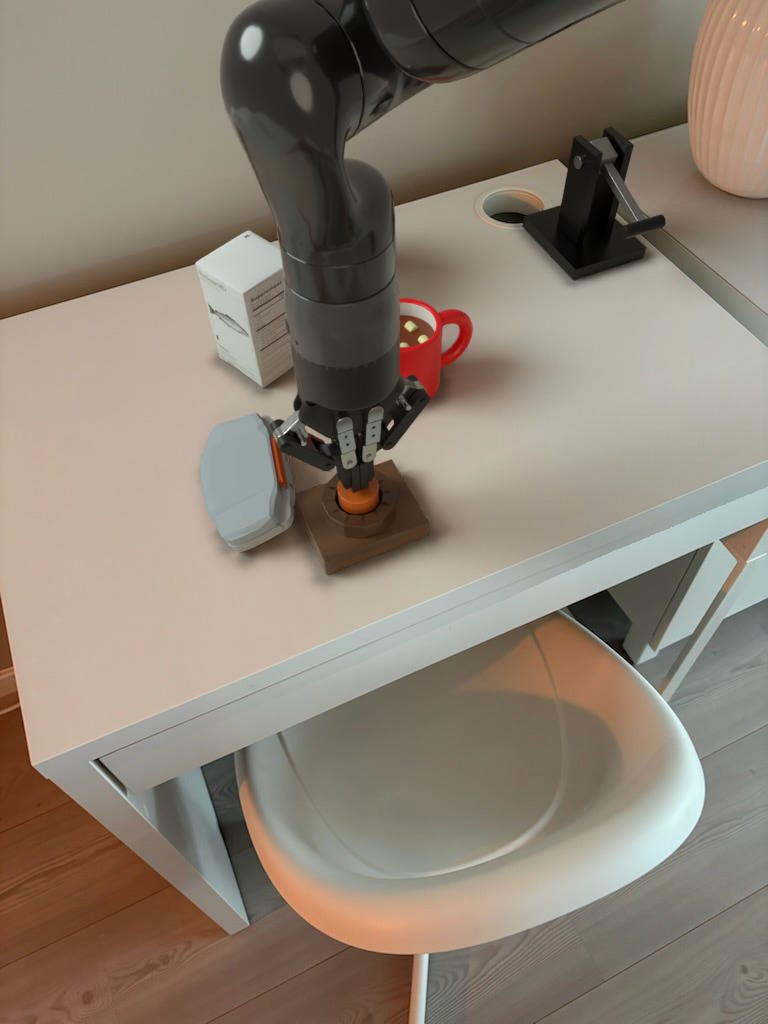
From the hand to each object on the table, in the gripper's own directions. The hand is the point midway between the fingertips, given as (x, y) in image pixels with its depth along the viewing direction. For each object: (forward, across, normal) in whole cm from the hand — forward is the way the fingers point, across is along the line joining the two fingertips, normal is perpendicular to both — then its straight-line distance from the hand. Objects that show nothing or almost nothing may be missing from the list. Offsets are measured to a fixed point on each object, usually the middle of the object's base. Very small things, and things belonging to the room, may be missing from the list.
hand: (356, 483), depth 64 cm
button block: (+6, 0, 0) cm, 6 cm away
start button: (+2, 0, 0) cm, 2 cm away
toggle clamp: (+6, +42, +28) cm, 50 cm away
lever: (-2, +41, +24) cm, 48 cm away
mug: (+6, +13, +15) cm, 21 cm away
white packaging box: (+6, -1, +25) cm, 25 cm away
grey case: (+5, -12, +8) cm, 16 cm away
